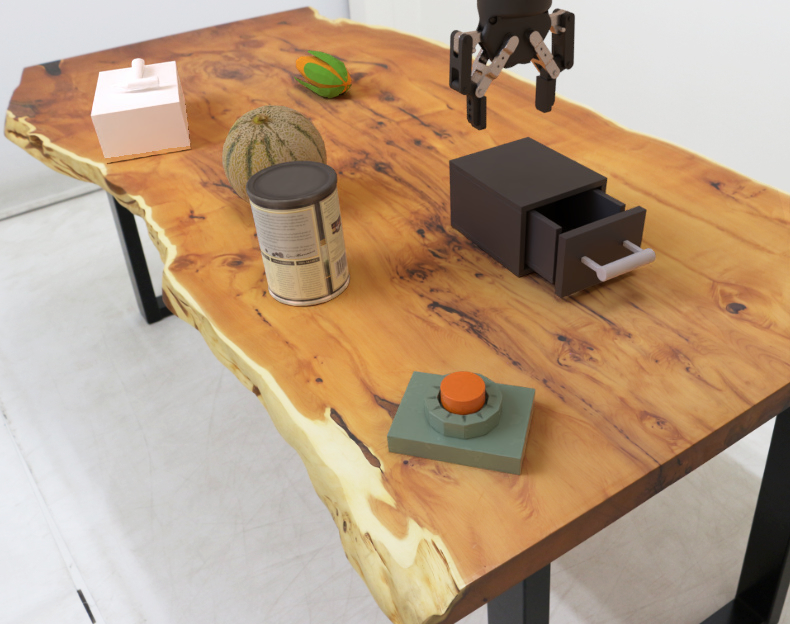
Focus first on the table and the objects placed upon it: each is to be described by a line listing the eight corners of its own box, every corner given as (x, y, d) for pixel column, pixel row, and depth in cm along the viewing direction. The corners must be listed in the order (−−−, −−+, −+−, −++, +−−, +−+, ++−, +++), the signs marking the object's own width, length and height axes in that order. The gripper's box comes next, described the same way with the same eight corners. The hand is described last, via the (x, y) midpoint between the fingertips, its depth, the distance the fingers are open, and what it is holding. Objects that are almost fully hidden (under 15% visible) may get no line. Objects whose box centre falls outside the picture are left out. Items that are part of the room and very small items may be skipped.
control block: (534, 405, 69) (536, 373, 66) (520, 476, 62) (521, 444, 59) (414, 386, 72) (412, 356, 69) (388, 452, 65) (384, 421, 63)
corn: (326, 66, 133) (278, 45, 147) (328, 106, 138) (281, 82, 151) (359, 60, 137) (309, 39, 150) (361, 99, 141) (312, 76, 155)
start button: (488, 388, 66) (489, 374, 65) (480, 418, 63) (480, 404, 62) (446, 382, 67) (446, 368, 66) (436, 411, 64) (435, 397, 63)
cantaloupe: (319, 174, 114) (306, 81, 105) (343, 215, 102) (330, 113, 93) (227, 193, 110) (205, 98, 101) (241, 237, 99) (217, 134, 90)
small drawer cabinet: (599, 246, 91) (607, 177, 85) (518, 277, 86) (521, 207, 81) (525, 200, 102) (528, 136, 96) (450, 225, 98) (448, 160, 92)
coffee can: (268, 266, 92) (247, 165, 84) (347, 256, 93) (334, 155, 85) (266, 312, 84) (243, 205, 76) (353, 301, 85) (339, 194, 76)
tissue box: (106, 164, 123) (86, 102, 116) (112, 115, 143) (95, 59, 136) (191, 149, 125) (175, 88, 119) (185, 103, 145) (172, 48, 139)
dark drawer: (664, 284, 81) (675, 225, 77) (586, 317, 78) (593, 256, 73) (559, 218, 95) (563, 164, 91) (488, 244, 91) (489, 189, 87)
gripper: (472, -24, 64) (474, 145, 74) (599, -48, 69) (585, 114, 79) (432, -35, 70) (438, 123, 80) (552, -57, 75) (544, 95, 84)
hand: (511, 119), depth 79 cm, fingers open, 8 cm apart
